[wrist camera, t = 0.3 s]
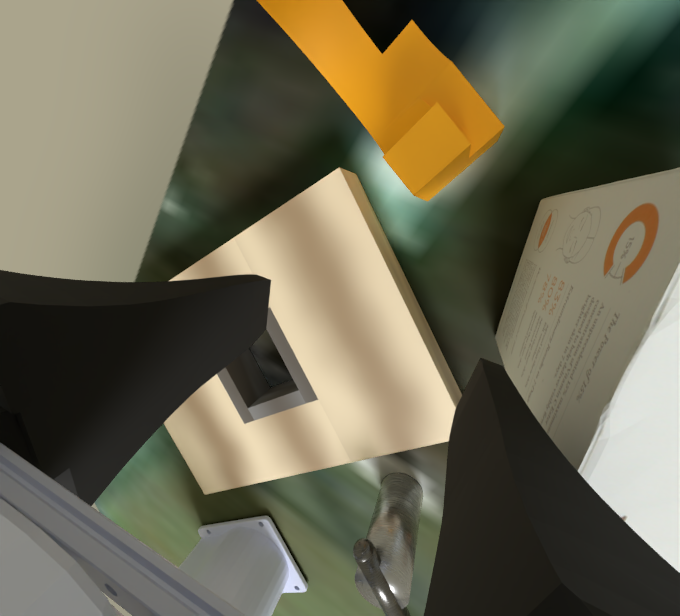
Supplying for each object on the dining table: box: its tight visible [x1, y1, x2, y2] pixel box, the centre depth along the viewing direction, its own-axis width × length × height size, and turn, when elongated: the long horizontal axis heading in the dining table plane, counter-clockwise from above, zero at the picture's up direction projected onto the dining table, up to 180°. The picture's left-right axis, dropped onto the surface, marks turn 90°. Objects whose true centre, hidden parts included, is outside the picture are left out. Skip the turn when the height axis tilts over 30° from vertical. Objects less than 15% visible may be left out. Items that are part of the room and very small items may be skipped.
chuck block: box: [164, 167, 462, 495], centre depth 23 cm, size 22×16×3 cm
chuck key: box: [353, 473, 423, 616], centre depth 21 cm, size 3×6×7 cm, turn 28°
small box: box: [495, 167, 680, 573], centre depth 11 cm, size 8×6×13 cm
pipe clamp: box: [257, 0, 505, 201], centre depth 15 cm, size 12×4×6 cm, turn 41°
